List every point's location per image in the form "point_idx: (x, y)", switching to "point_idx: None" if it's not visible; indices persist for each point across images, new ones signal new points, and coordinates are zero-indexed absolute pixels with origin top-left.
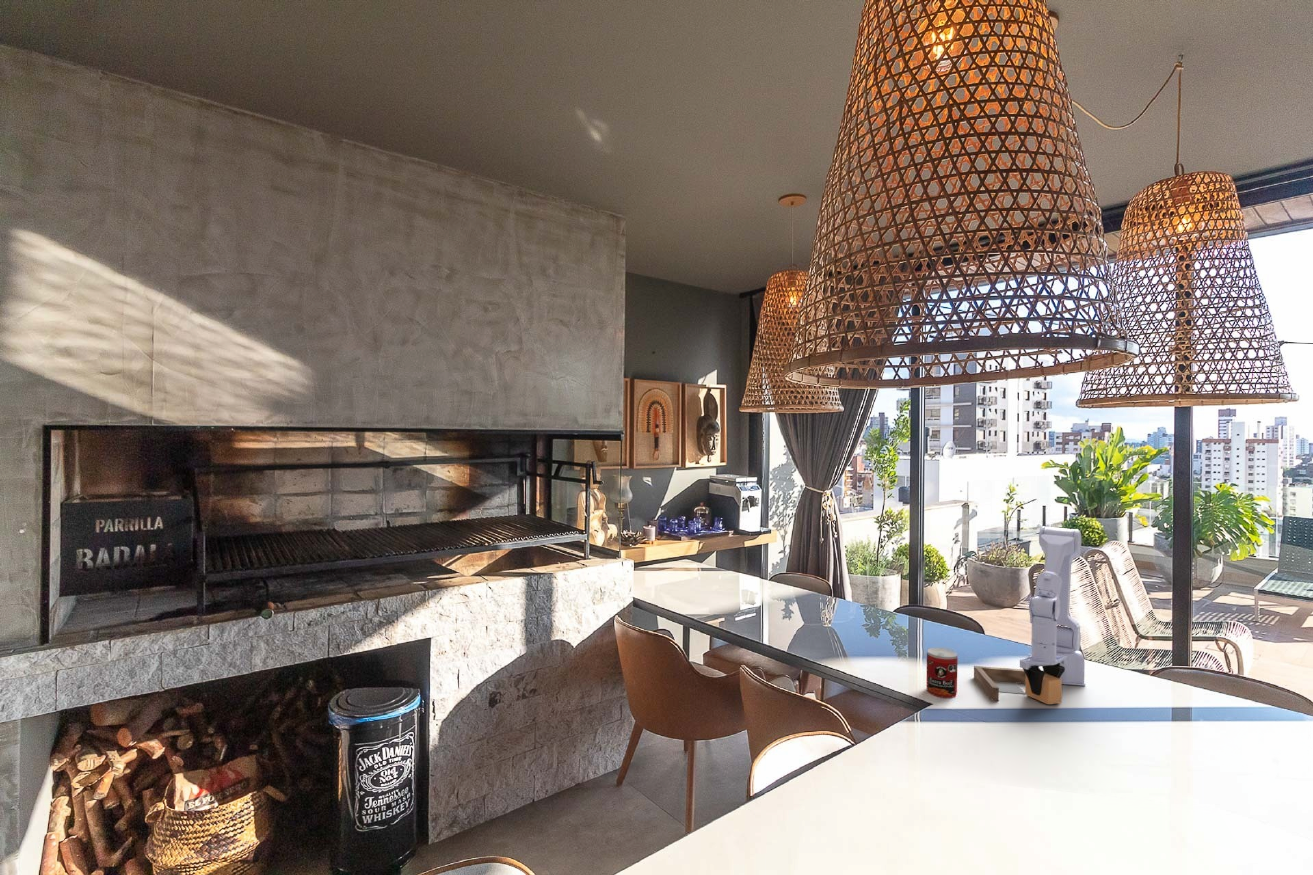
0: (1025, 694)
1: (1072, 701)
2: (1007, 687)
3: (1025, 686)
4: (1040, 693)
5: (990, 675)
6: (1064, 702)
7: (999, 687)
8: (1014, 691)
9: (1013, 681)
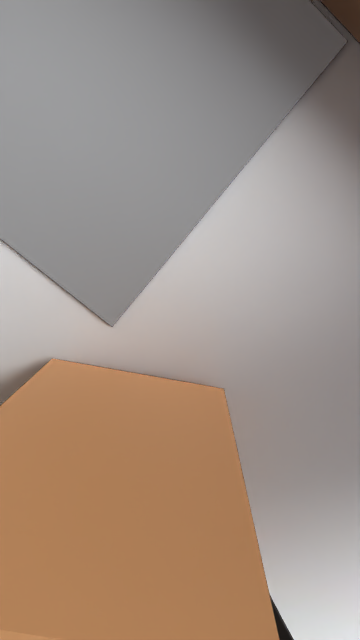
0: (51, 360)
1: (319, 589)
2: (96, 106)
3: (8, 398)
4: None
5: None
6: None
7: (1, 54)
8: (58, 230)
9: (347, 12)
